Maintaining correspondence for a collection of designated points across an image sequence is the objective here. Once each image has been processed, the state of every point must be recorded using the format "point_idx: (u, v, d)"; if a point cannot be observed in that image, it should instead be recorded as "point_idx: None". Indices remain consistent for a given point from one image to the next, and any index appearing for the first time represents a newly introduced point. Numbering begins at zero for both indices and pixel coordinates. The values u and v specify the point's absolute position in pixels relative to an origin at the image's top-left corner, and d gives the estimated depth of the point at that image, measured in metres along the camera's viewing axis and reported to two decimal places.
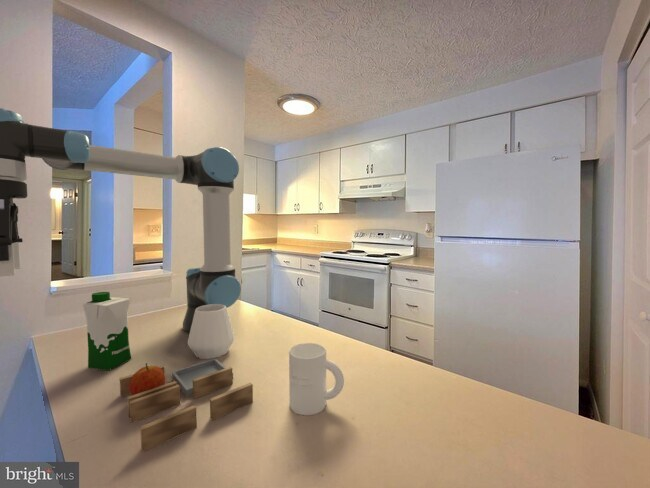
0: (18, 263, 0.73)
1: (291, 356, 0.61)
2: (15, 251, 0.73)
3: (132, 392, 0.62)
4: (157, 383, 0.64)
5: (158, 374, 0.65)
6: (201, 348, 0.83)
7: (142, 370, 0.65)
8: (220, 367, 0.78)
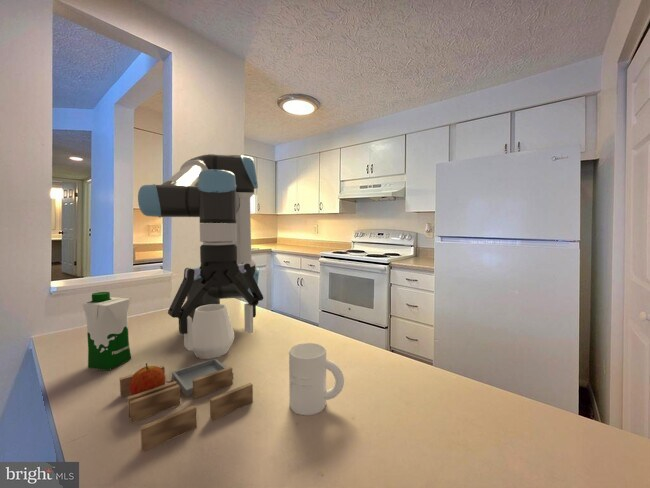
0: (249, 327, 0.68)
1: (291, 356, 0.61)
2: (248, 314, 0.68)
3: (132, 392, 0.62)
4: (157, 383, 0.64)
5: (158, 374, 0.65)
6: (201, 348, 0.83)
7: (142, 370, 0.65)
8: (220, 367, 0.78)
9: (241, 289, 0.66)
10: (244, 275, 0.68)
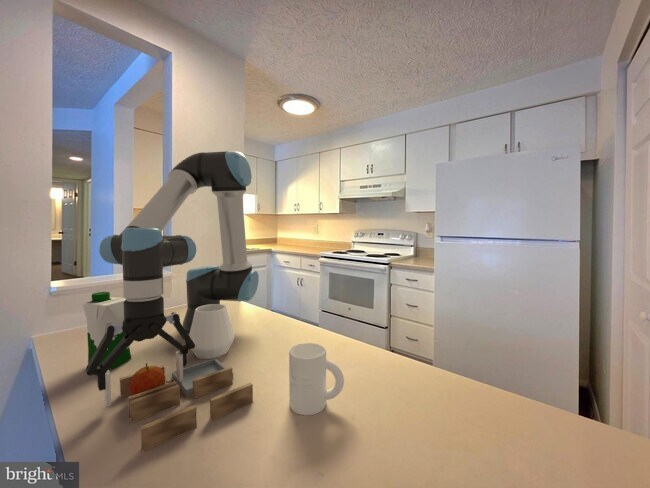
0: (179, 376, 0.69)
1: (291, 356, 0.61)
2: (178, 363, 0.69)
3: (132, 392, 0.62)
4: (157, 383, 0.64)
5: (158, 374, 0.65)
6: (201, 348, 0.83)
7: (142, 370, 0.65)
8: (220, 367, 0.78)
9: (169, 340, 0.67)
10: (174, 325, 0.69)
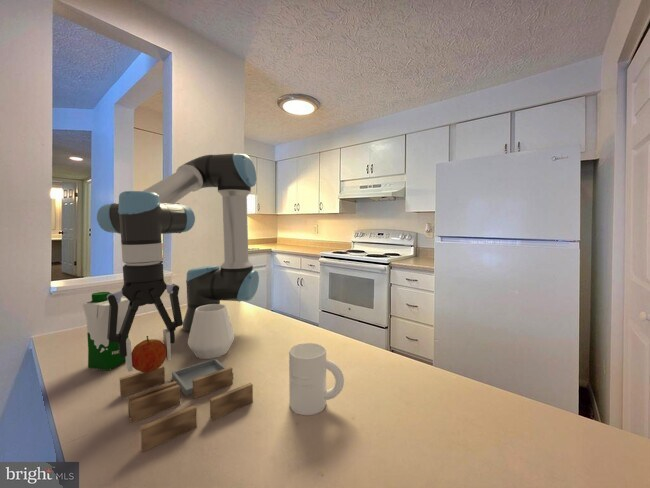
0: (167, 354, 0.67)
1: (291, 356, 0.61)
2: (165, 341, 0.67)
3: (133, 363, 0.63)
4: (158, 355, 0.64)
5: (158, 347, 0.65)
6: (201, 348, 0.83)
7: (143, 342, 0.65)
8: (220, 367, 0.78)
9: (162, 311, 0.66)
10: (170, 296, 0.68)
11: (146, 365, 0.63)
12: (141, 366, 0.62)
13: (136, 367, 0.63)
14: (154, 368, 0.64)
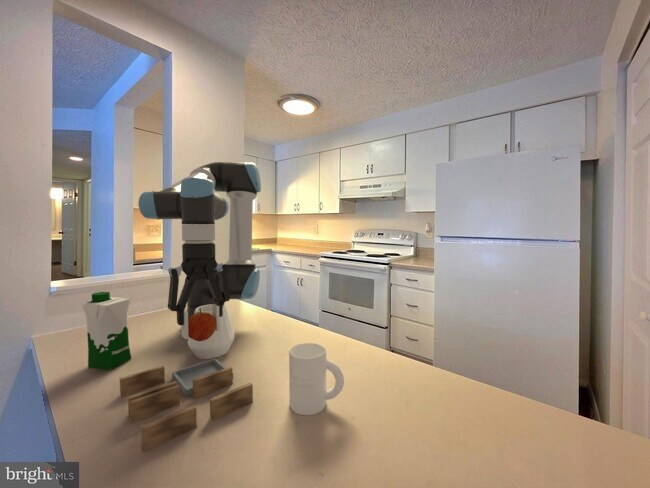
0: (216, 326, 0.74)
1: (291, 356, 0.61)
2: (215, 314, 0.75)
3: (189, 332, 0.70)
4: (211, 325, 0.71)
5: (210, 318, 0.72)
6: (201, 348, 0.83)
7: (197, 314, 0.72)
8: (220, 367, 0.78)
9: (213, 287, 0.73)
10: (219, 274, 0.76)
11: (201, 333, 0.70)
12: (196, 334, 0.70)
13: (192, 335, 0.70)
14: (207, 337, 0.71)
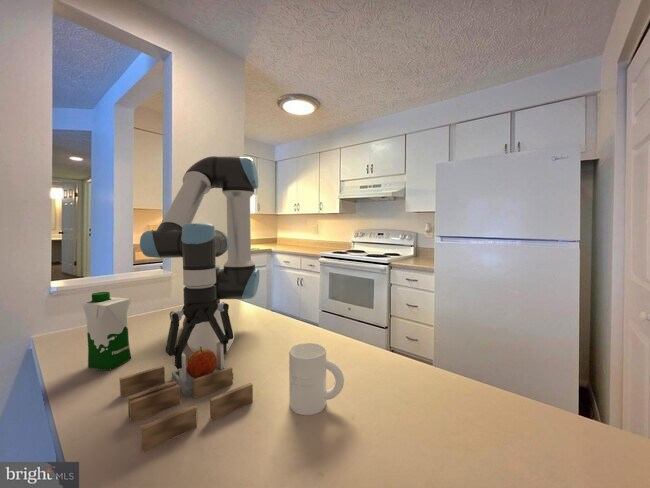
0: (220, 364, 0.76)
1: (291, 356, 0.61)
2: (219, 352, 0.76)
3: (190, 372, 0.70)
4: (211, 364, 0.72)
5: (211, 356, 0.73)
6: None
7: (197, 353, 0.72)
8: None
9: (216, 327, 0.74)
10: (221, 313, 0.77)
11: (202, 373, 0.70)
12: (197, 374, 0.70)
13: (193, 375, 0.70)
14: None
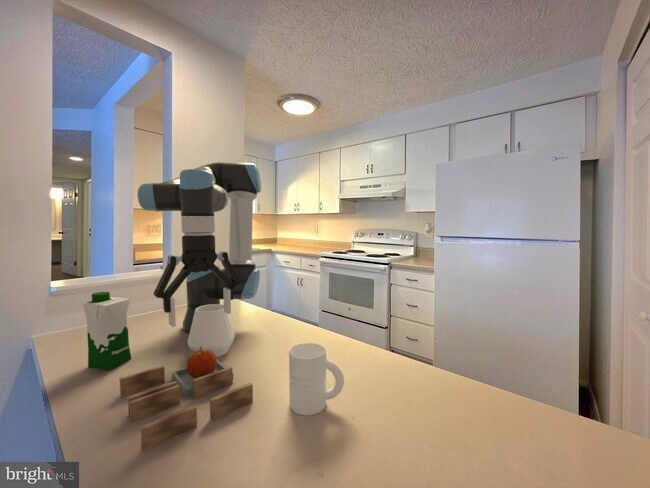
0: (227, 308, 0.77)
1: (291, 356, 0.61)
2: (226, 297, 0.77)
3: (190, 372, 0.70)
4: (211, 364, 0.72)
5: (211, 356, 0.73)
6: None
7: (197, 353, 0.72)
8: (220, 367, 0.78)
9: (219, 274, 0.75)
10: (222, 262, 0.77)
11: (202, 373, 0.70)
12: (197, 374, 0.70)
13: (193, 375, 0.70)
14: None
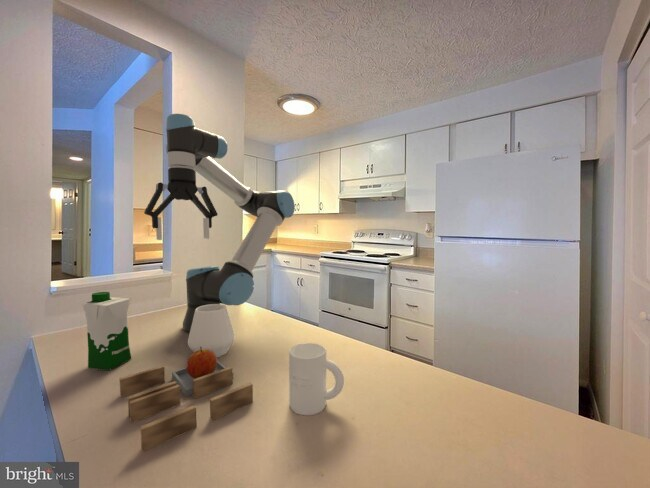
0: (206, 234, 0.93)
1: (291, 356, 0.61)
2: (205, 224, 0.93)
3: (190, 371, 0.70)
4: (211, 364, 0.72)
5: (211, 356, 0.73)
6: None
7: (197, 352, 0.72)
8: (220, 367, 0.78)
9: (199, 204, 0.91)
10: (202, 196, 0.93)
11: (202, 373, 0.70)
12: (197, 374, 0.70)
13: (193, 375, 0.70)
14: None
